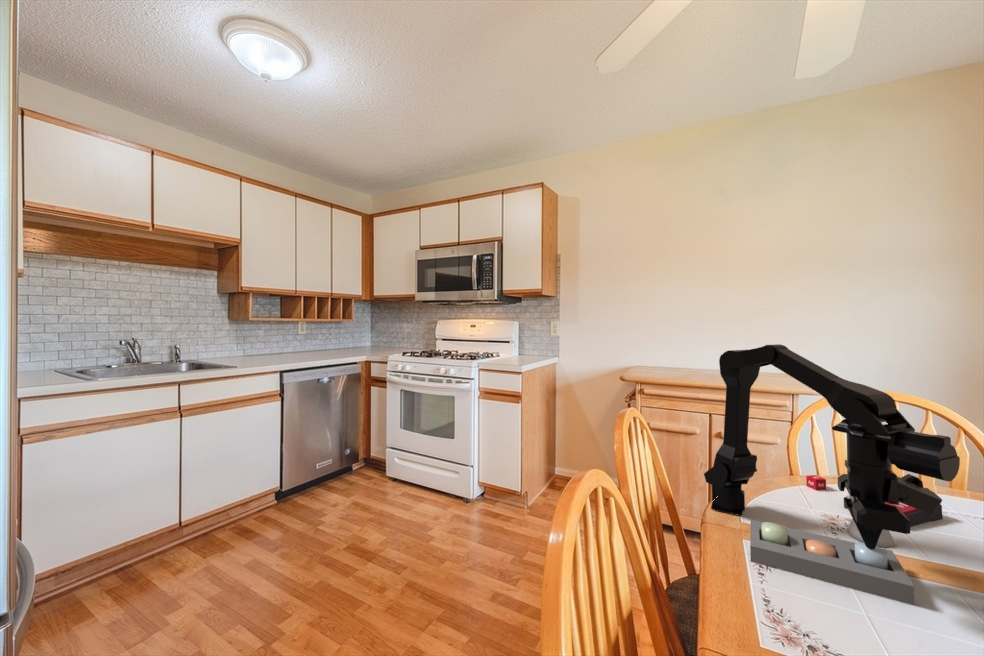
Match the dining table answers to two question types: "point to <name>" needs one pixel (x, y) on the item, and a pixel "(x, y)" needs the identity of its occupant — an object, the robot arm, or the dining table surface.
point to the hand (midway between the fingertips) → (870, 547)
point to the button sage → (774, 533)
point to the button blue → (871, 556)
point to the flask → (884, 537)
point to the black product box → (913, 513)
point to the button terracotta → (820, 548)
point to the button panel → (832, 564)
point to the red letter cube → (816, 482)
